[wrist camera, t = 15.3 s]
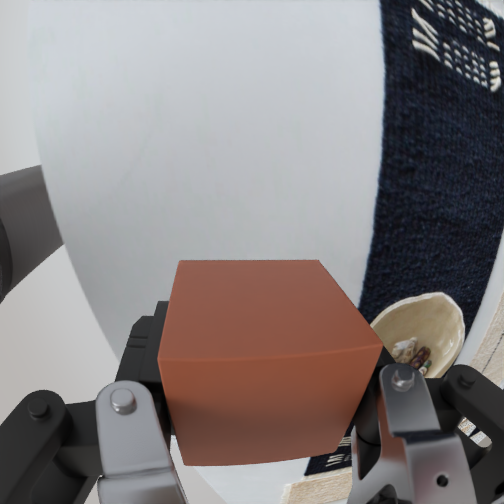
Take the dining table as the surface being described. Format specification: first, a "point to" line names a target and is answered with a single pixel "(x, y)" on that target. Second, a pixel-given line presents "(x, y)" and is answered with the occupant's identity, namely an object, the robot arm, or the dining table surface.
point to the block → (262, 361)
